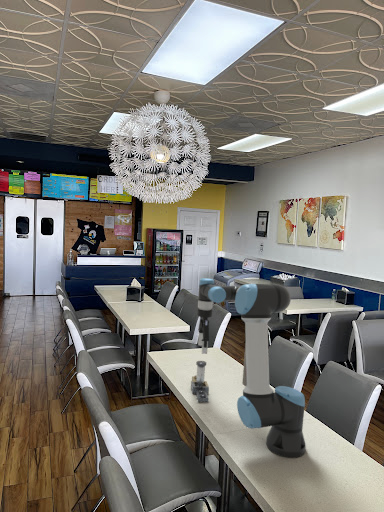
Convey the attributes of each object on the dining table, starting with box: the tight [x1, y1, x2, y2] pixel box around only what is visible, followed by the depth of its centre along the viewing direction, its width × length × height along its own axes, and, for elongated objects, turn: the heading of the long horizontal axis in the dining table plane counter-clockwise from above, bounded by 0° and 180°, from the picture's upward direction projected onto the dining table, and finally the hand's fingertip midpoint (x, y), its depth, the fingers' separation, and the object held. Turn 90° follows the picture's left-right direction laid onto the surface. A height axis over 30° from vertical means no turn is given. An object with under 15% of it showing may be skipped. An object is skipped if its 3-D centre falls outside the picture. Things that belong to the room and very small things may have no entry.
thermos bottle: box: [241, 343, 247, 387], centre depth 216 cm, size 8×8×28 cm
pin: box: [196, 360, 207, 386], centre depth 203 cm, size 5×5×15 cm
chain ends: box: [190, 374, 210, 403], centre depth 204 cm, size 27×8×4 cm, turn 7°
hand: (202, 349), depth 202 cm, fingers open, 13 cm apart
